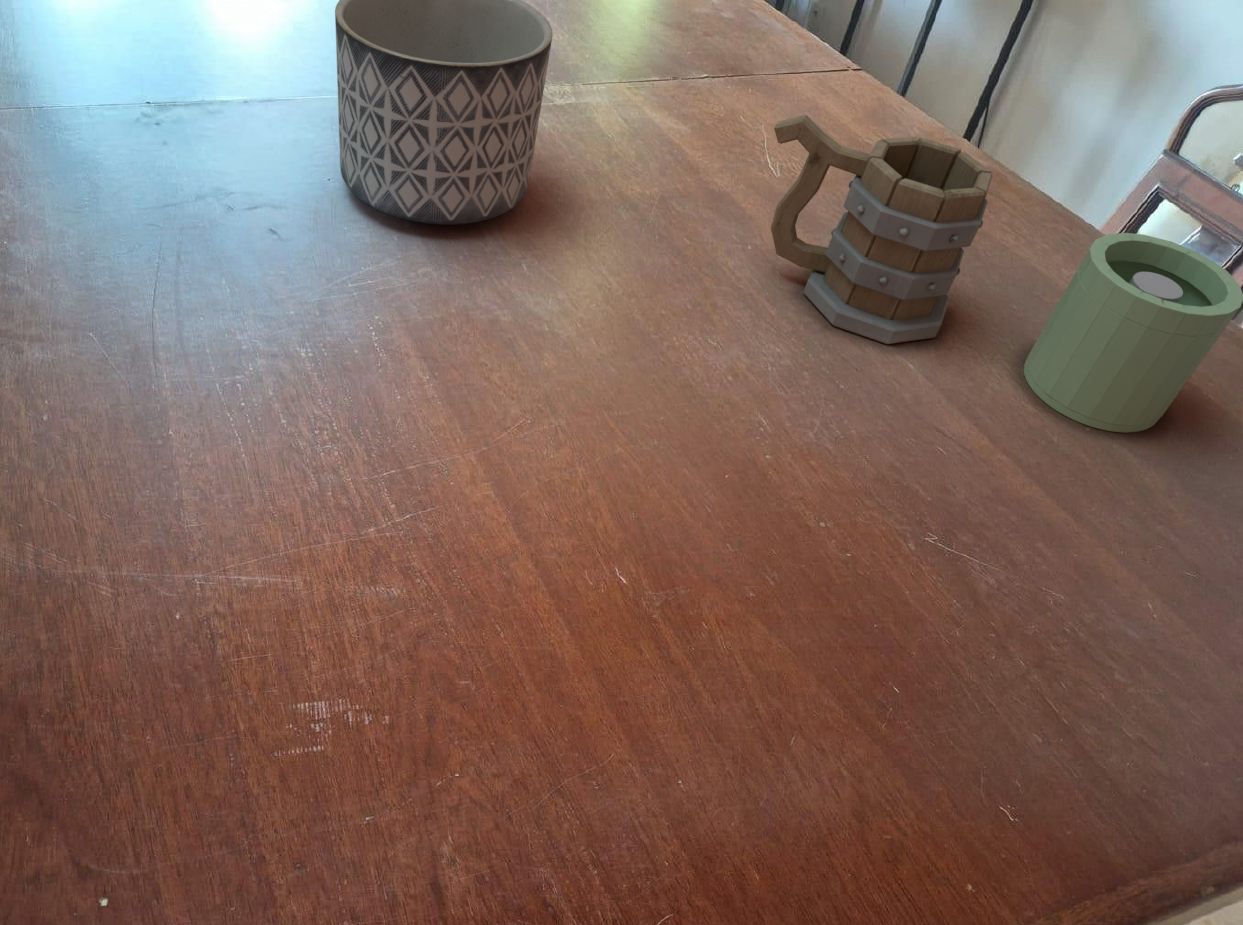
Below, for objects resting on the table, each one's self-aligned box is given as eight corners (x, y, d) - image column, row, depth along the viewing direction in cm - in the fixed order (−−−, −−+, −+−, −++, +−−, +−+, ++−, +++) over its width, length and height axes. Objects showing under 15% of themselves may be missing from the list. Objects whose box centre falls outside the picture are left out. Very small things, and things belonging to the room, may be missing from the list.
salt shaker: (1109, 369, 96) (1171, 272, 89) (1129, 399, 93) (1195, 302, 85) (1063, 364, 95) (1122, 267, 88) (1081, 394, 92) (1143, 297, 85)
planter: (500, 261, 98) (521, 83, 86) (305, 212, 100) (300, 32, 88) (549, 170, 111) (573, 5, 99) (376, 129, 113) (379, -37, 101)
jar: (1127, 355, 99) (1202, 240, 91) (1183, 438, 91) (1271, 321, 82) (1005, 342, 98) (1069, 226, 90) (1050, 426, 90) (1125, 306, 81)
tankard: (948, 293, 103) (1019, 146, 92) (928, 359, 95) (1002, 206, 84) (754, 230, 107) (799, 82, 97) (717, 287, 99) (763, 132, 88)
